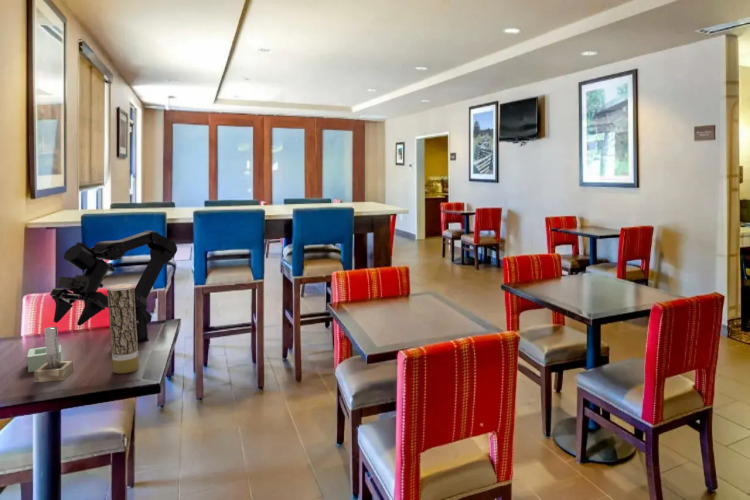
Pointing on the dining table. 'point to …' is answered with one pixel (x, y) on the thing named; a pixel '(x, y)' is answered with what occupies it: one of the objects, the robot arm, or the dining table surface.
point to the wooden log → (123, 328)
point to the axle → (52, 348)
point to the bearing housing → (53, 372)
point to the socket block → (38, 358)
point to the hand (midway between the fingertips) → (66, 323)
